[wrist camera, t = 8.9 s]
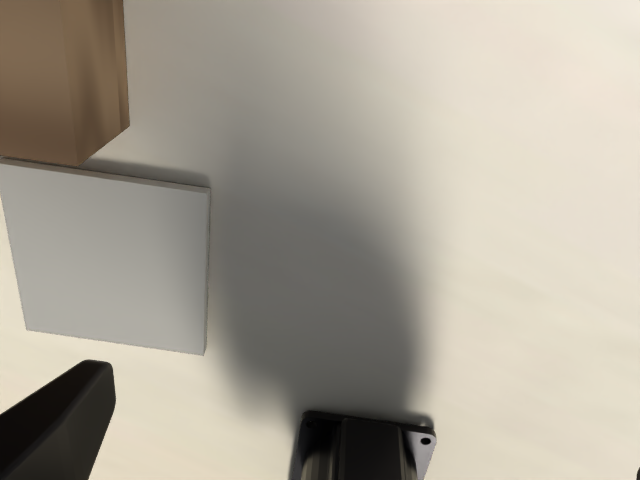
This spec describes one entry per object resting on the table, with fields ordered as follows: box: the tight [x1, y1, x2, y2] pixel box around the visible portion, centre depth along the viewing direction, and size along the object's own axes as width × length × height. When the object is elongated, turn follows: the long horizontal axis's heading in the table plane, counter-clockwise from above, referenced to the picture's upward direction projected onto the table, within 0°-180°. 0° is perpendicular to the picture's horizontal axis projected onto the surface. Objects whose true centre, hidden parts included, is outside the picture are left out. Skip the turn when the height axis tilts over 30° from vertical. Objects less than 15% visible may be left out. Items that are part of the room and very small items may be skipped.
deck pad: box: [0, 158, 210, 356], centre depth 22 cm, size 8×8×1 cm
